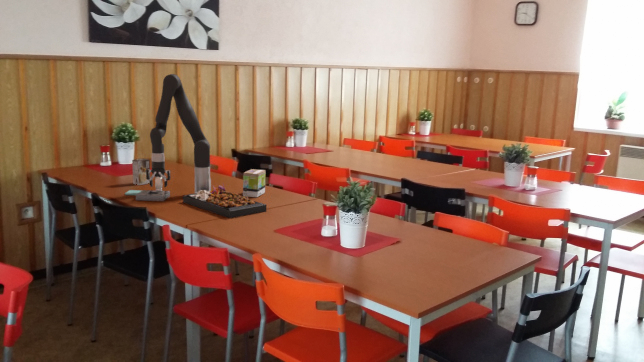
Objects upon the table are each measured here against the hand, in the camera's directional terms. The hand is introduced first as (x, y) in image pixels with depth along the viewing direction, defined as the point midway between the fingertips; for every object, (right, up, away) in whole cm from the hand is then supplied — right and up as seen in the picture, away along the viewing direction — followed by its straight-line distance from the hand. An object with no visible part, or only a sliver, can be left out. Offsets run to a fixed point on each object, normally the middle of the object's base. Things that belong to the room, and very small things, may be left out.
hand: (158, 186), depth 347 cm
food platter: (+44, -12, -25) cm, 52 cm away
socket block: (0, -6, -11) cm, 13 cm away
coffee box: (-19, +2, +27) cm, 33 cm away
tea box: (+57, -5, +8) cm, 58 cm away
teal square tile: (-14, -4, -1) cm, 15 cm away
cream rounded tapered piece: (0, -4, +1) cm, 4 cm away
